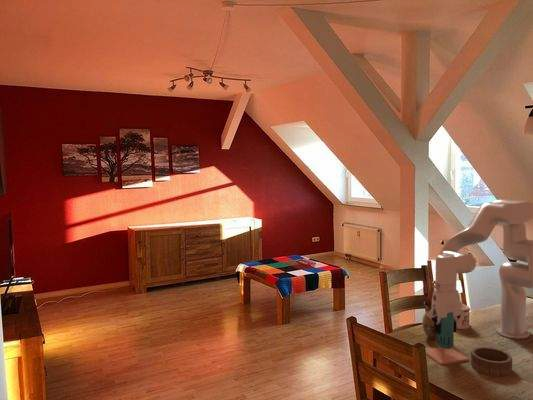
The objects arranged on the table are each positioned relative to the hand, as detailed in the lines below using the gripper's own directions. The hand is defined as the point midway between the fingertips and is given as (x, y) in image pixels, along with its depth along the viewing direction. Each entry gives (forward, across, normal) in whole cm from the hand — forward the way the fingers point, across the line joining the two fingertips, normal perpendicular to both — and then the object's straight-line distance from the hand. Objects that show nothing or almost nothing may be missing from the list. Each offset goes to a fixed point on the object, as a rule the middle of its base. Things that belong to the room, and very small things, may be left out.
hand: (445, 331), depth 168 cm
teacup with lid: (+10, +27, +26) cm, 39 cm away
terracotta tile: (+10, 0, 0) cm, 10 cm away
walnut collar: (+10, +10, -13) cm, 19 cm away
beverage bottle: (+7, 0, 0) cm, 7 cm away
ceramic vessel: (+10, +7, +17) cm, 21 cm away
